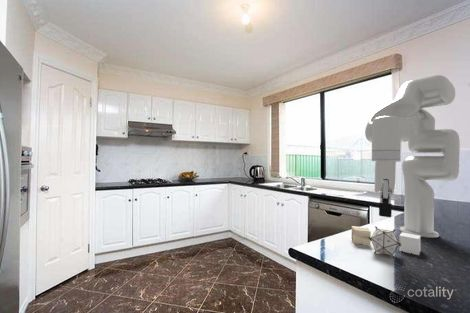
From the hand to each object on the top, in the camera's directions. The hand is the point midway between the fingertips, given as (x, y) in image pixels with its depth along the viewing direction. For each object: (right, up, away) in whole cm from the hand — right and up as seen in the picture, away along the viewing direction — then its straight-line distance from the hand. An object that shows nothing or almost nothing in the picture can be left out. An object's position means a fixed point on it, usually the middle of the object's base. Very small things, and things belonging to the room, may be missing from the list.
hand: (385, 216), depth 72 cm
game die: (0, -12, 0) cm, 12 cm away
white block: (+10, -12, +3) cm, 16 cm away
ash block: (-2, -12, +10) cm, 16 cm away
